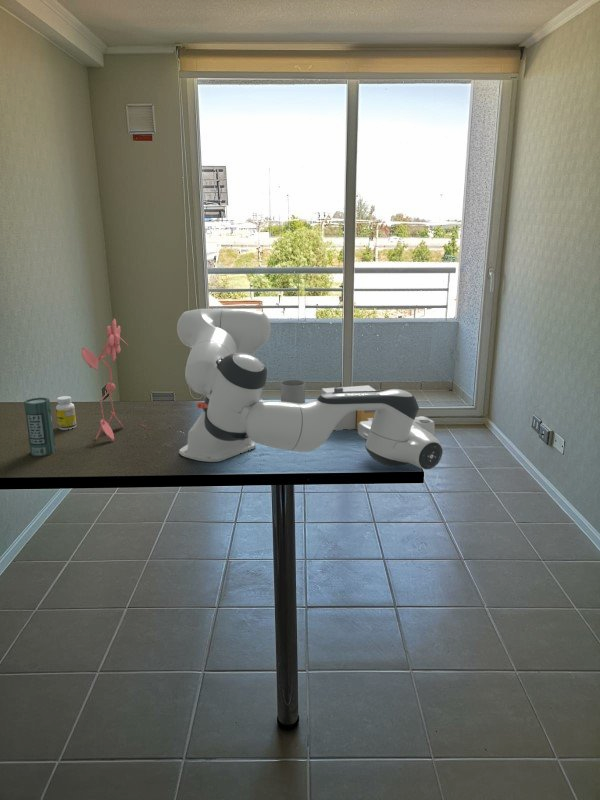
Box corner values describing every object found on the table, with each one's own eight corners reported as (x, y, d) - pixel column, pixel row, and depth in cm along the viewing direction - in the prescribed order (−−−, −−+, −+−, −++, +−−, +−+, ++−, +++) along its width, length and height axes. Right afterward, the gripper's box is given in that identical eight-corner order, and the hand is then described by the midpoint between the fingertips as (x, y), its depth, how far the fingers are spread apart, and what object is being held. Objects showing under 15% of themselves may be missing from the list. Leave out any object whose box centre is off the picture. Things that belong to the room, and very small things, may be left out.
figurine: (82, 449, 168) (72, 325, 159) (111, 421, 193) (104, 313, 183) (136, 450, 168) (129, 327, 158) (158, 422, 193) (154, 314, 183)
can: (58, 448, 169) (52, 397, 165) (49, 456, 163) (42, 403, 159) (37, 448, 169) (30, 397, 165) (27, 456, 163) (20, 403, 159)
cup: (305, 414, 200) (305, 386, 197) (280, 414, 200) (280, 386, 197) (304, 407, 208) (304, 379, 205) (281, 407, 208) (280, 379, 205)
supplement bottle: (55, 427, 187) (51, 397, 184) (72, 423, 190) (69, 394, 188) (62, 431, 183) (59, 400, 180) (79, 427, 187) (76, 397, 184)
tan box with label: (378, 432, 183) (379, 404, 180) (361, 434, 181) (362, 405, 179) (373, 428, 187) (374, 400, 184) (356, 429, 185) (357, 401, 183)
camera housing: (379, 426, 188) (380, 390, 184) (322, 431, 183) (323, 394, 180) (367, 417, 197) (368, 382, 194) (313, 421, 193) (313, 386, 189)
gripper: (367, 449, 156) (350, 432, 169) (438, 442, 161) (416, 426, 174) (368, 427, 155) (350, 411, 167) (439, 420, 159) (417, 406, 172)
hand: (384, 419), depth 171 cm, fingers open, 8 cm apart
